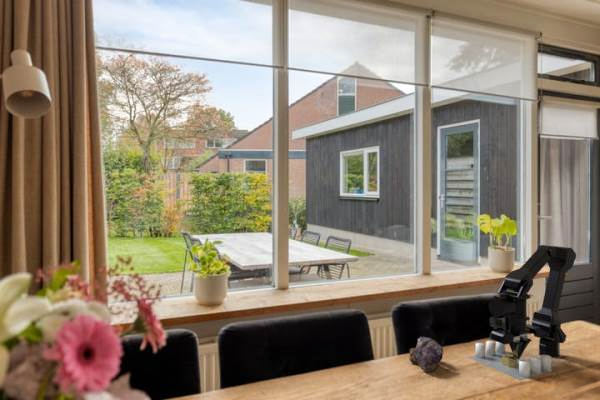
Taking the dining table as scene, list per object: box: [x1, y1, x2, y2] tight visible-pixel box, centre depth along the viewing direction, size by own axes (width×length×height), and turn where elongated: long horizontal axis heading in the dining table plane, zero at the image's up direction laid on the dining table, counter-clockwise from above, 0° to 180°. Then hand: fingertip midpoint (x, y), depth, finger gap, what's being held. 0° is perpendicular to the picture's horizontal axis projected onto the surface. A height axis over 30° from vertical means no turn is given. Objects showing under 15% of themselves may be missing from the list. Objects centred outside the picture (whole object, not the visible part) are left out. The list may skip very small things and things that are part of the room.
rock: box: [408, 336, 444, 373], centre depth 141 cm, size 12×9×10 cm
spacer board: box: [468, 340, 555, 381], centre depth 140 cm, size 16×20×5 cm
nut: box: [502, 355, 518, 367], centre depth 140 cm, size 4×5×2 cm
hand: (516, 359), depth 141 cm, fingers closed
